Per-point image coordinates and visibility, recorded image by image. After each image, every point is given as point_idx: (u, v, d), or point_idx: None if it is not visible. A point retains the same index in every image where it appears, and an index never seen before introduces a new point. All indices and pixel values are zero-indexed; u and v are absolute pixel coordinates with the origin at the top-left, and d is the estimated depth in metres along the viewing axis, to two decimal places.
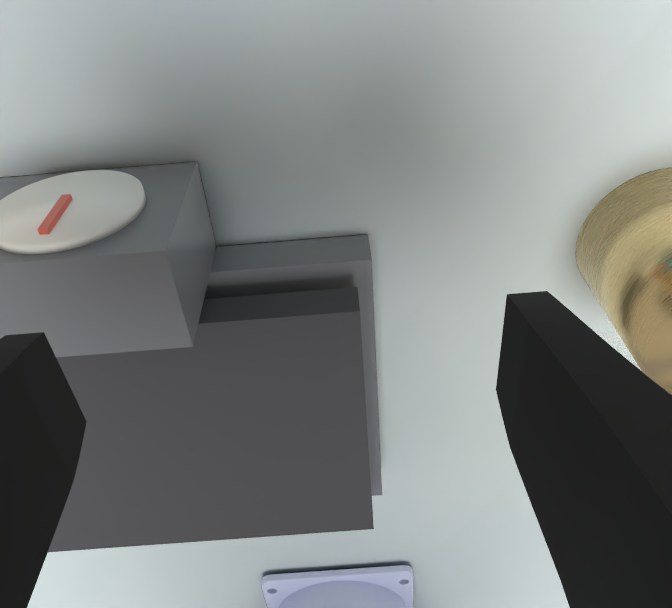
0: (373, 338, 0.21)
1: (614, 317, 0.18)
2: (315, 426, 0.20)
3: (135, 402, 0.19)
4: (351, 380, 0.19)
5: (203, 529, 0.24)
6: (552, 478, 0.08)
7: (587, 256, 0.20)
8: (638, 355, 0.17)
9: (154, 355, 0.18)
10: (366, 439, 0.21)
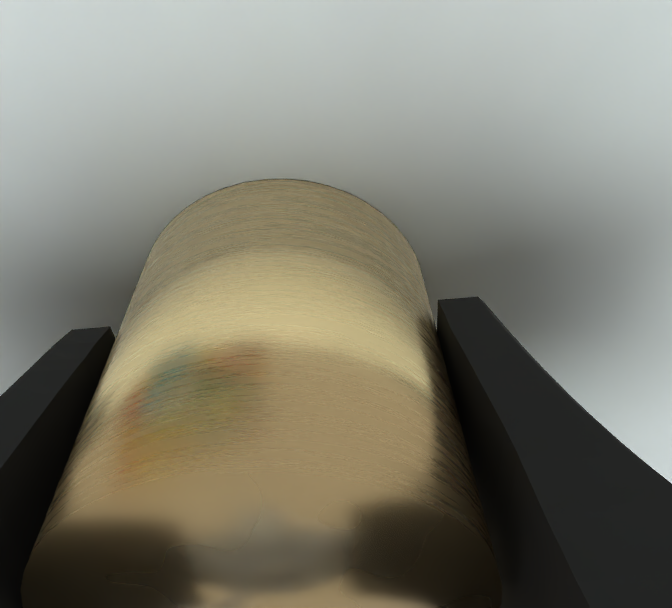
0: None
1: None
2: None
3: None
4: None
5: None
6: None
7: None
8: None
9: None
10: None
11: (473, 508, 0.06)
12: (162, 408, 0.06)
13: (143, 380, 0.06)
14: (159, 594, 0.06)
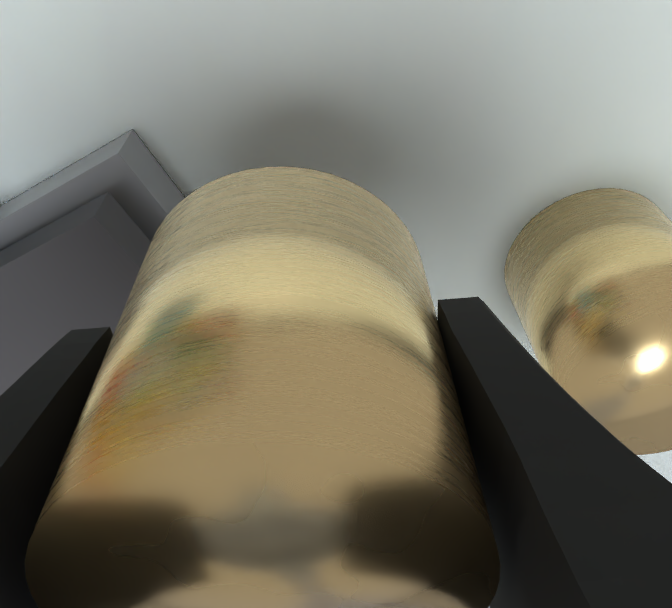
0: None
1: None
2: None
3: None
4: None
5: None
6: None
7: None
8: None
9: None
10: None
11: (473, 486, 0.06)
12: (168, 383, 0.06)
13: (148, 358, 0.06)
14: (162, 568, 0.06)
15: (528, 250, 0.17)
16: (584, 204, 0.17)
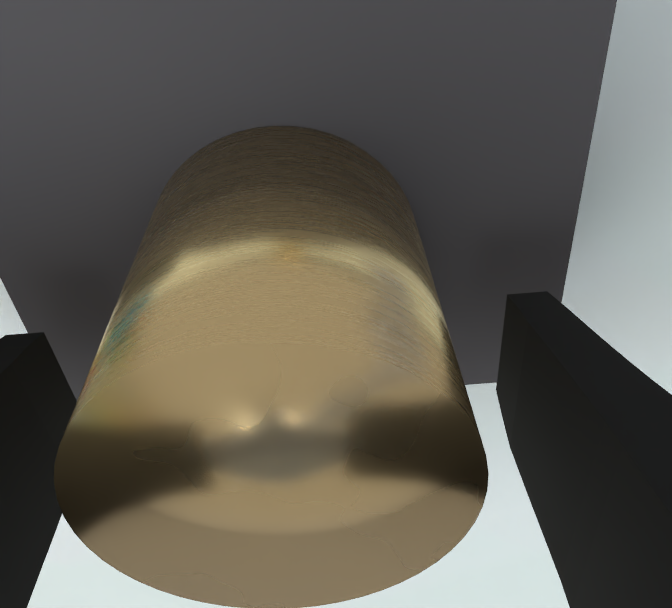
0: None
1: None
2: None
3: (90, 62, 0.09)
4: None
5: None
6: (552, 479, 0.08)
7: None
8: None
9: None
10: None
11: (464, 399, 0.07)
12: (189, 300, 0.06)
13: (168, 283, 0.07)
14: (179, 472, 0.07)
15: None
16: None
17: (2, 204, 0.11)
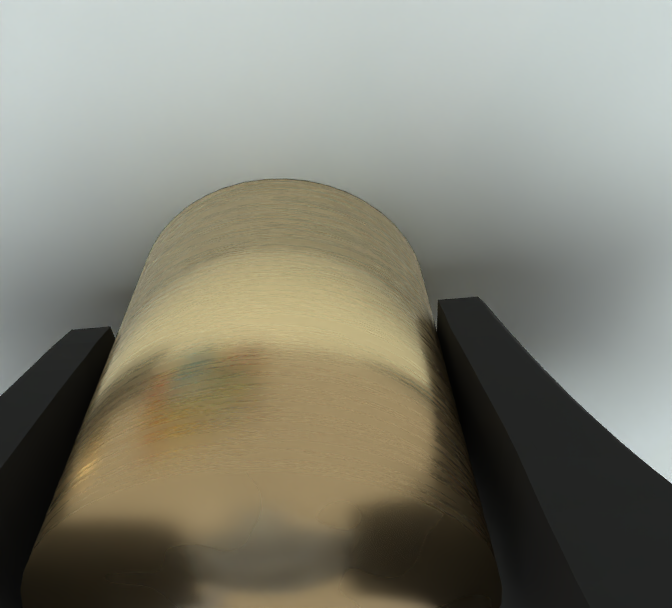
0: None
1: None
2: None
3: None
4: None
5: None
6: None
7: None
8: None
9: None
10: None
11: None
12: None
13: None
14: None
15: (163, 249, 0.09)
16: (285, 199, 0.09)
17: None
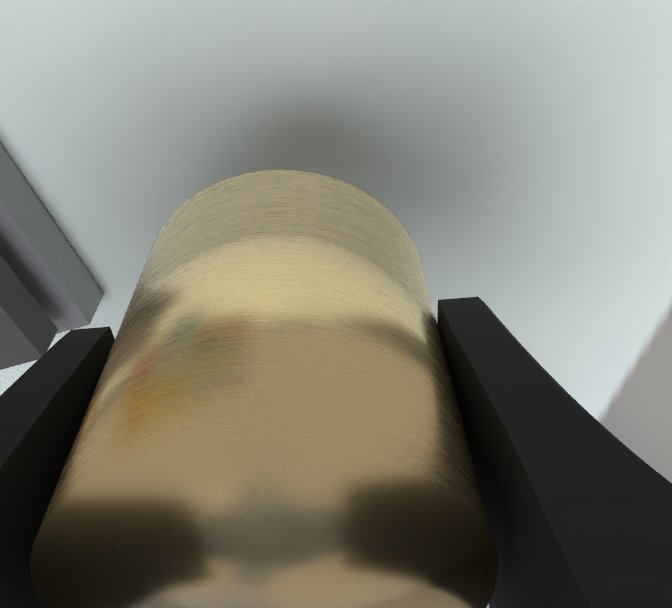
0: None
1: None
2: None
3: None
4: None
5: None
6: None
7: None
8: None
9: None
10: None
11: None
12: None
13: None
14: None
15: (166, 238, 0.09)
16: (285, 189, 0.09)
17: None
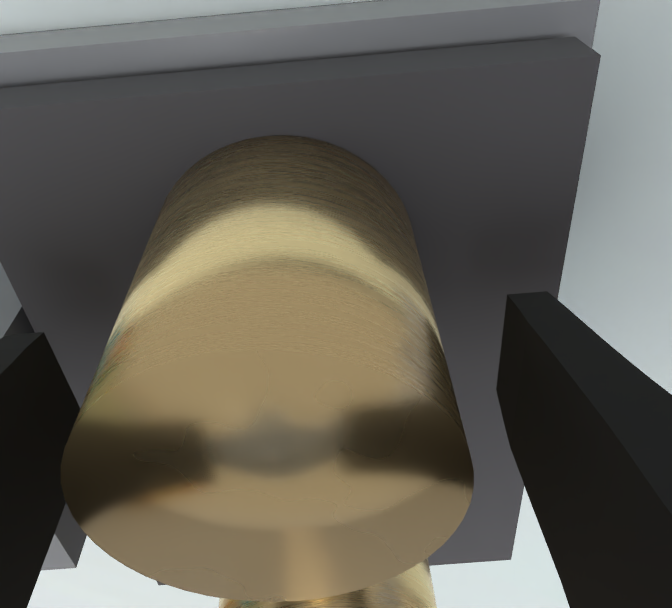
0: (108, 46, 0.11)
1: None
2: None
3: None
4: (100, 123, 0.10)
5: None
6: (552, 478, 0.08)
7: None
8: None
9: None
10: (267, 88, 0.10)
11: None
12: None
13: (279, 607, 0.12)
14: None
15: (177, 196, 0.10)
16: (287, 151, 0.10)
17: None
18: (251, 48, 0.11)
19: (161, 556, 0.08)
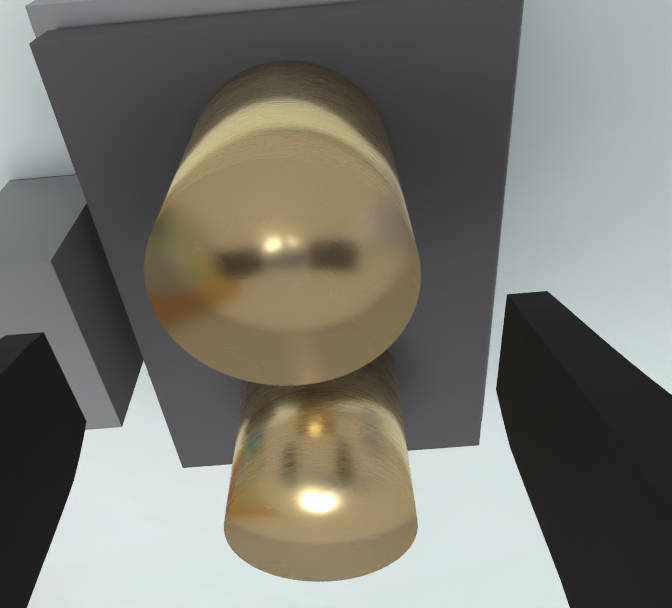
0: None
1: None
2: None
3: None
4: (155, 50, 0.14)
5: (469, 255, 0.17)
6: (552, 479, 0.08)
7: None
8: None
9: None
10: (279, 23, 0.14)
11: (410, 493, 0.16)
12: (297, 443, 0.15)
13: (284, 429, 0.15)
14: (282, 515, 0.15)
15: (212, 102, 0.14)
16: (293, 69, 0.14)
17: (164, 359, 0.19)
18: None
19: (206, 338, 0.12)
